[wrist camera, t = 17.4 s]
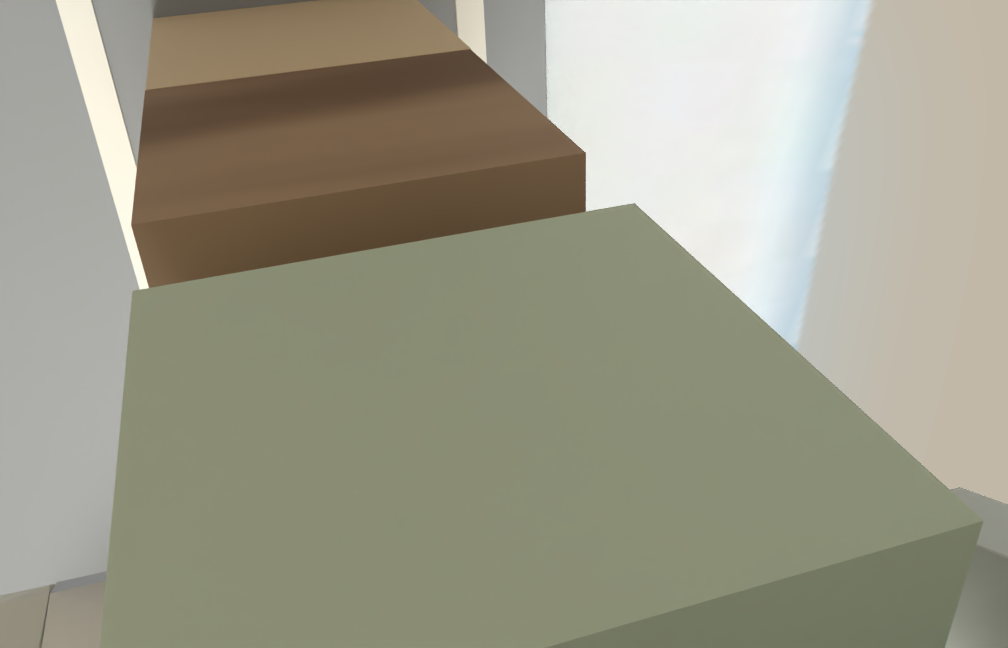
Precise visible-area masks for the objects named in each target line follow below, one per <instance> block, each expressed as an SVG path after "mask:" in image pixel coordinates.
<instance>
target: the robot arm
mask: <svg viewBox="0 0 1008 648" xmlns="http://www.w3.org/2000/svg"><path fill="white" fill-rule="evenodd" d="M950 491H951V492H953V493H954V494H955V495H956V496H957V497H958V498H959V499H960V500H961V501H962V502H964V503H965V504H966V505H967V506H968V507H969V508H970V509H971V510H972V511H973V512H975V513H976V514H977V515H978V516H979V517H980V518H981V519H982V520H983V525H982V528H981V531H980V534H979V538H978V541H977V544H976V547H975V551H974V554H973V557H972V560H971V564H970V567H969V570H968V574H967V577H966V580H965V583H964V587H963V590H962V593H961V596H960V600H959V603H958V606H957V609H956V613H955V616H954V619H953V622H952V626H951V629H950V632H949V635H948V639H947V642H946V645H945V648H1008V504H1005V503H1002V502H999V501H996V500H994V499H991V498H988V497H985V496H982V495H980V494H977V493H974V492H971V491H968V490H966V489H963V488H960V487H959V488H955V489H951V490H950ZM106 576H107V571H105V572H101V573H96V574H91V575H87V576H82V577H78V578H73V579H68V580H64V581H59V582H57V583H56V584H52V585H47V586H42V587H37V588H33V589H28V590H24V591H19V592H14V593H10V594H5V595H0V648H100V643H101V632H102V621H103V609H104V598H105V587H106Z"/></svg>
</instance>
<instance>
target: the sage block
mask: <svg viewBox="0 0 1008 648" xmlns="http://www.w3.org/2000/svg"><path fill="white" fill-rule="evenodd" d="M982 525H983V520H982V519H981V518H980V517H979V516H978V515H977V514H976V513H975V512H973V511H972V510H971V509H970V508H969V507H968V506H967V505H966V504H965V503H964V502H962V501H961V500H960V499H959V498H958V497H957V496H956V495H955V494H954V493H953V492H951V491H950V490H949V489H948V488H947V487H946V486H945V485H944V484H943V483H942V482H940V481H939V480H938V479H937V478H936V477H935V476H934V475H933V474H932V473H931V472H929V471H928V470H927V469H926V468H925V467H924V466H923V465H922V464H921V463H920V462H918V461H917V460H916V459H915V458H914V457H913V456H912V455H911V454H910V453H909V452H907V451H906V450H905V449H904V448H903V447H902V446H901V445H900V444H899V443H897V442H896V441H895V440H894V439H893V438H892V437H891V436H890V435H889V434H888V433H886V432H885V431H884V430H883V429H882V428H881V427H880V426H879V425H878V424H877V423H876V422H874V421H873V420H872V419H871V418H870V417H869V416H868V415H867V414H866V413H864V412H863V411H862V410H861V409H860V408H859V407H858V406H857V405H856V404H855V403H853V402H852V401H851V400H850V399H849V398H848V397H847V396H846V395H845V394H844V393H842V392H841V391H840V390H839V389H838V388H837V387H836V386H835V385H834V384H833V383H832V382H830V381H829V380H828V379H827V378H826V377H825V376H824V375H823V374H822V373H821V372H819V371H818V370H817V369H816V368H815V367H814V366H813V365H812V364H811V363H809V362H808V361H807V360H806V359H805V358H804V357H803V356H802V355H801V354H800V353H799V352H797V351H796V350H795V349H794V348H793V347H792V346H791V345H790V344H789V343H788V342H786V341H785V340H784V339H783V338H782V337H781V336H780V335H779V334H778V333H777V332H775V331H774V330H773V329H772V328H771V327H770V326H769V325H768V324H767V323H766V322H764V321H763V320H762V319H761V318H760V317H759V316H758V315H757V314H756V313H755V312H753V311H752V310H751V309H750V308H749V307H748V306H747V305H746V304H745V303H743V302H742V301H741V300H740V299H739V298H738V297H737V296H736V295H735V294H734V293H732V292H731V291H730V290H729V289H728V288H727V287H726V286H725V285H724V284H723V283H721V282H720V281H719V280H718V279H717V278H716V277H715V276H714V275H713V274H712V273H710V272H709V271H708V270H707V269H706V268H705V267H704V266H703V265H702V264H701V263H699V262H698V261H697V260H696V259H695V258H694V257H693V256H692V255H691V254H690V253H688V252H687V251H686V250H685V249H684V248H683V247H682V246H681V245H680V244H679V243H677V242H676V241H675V240H674V239H673V238H672V237H671V236H670V235H669V234H668V233H666V232H665V231H664V230H663V229H662V228H661V227H660V226H659V225H658V224H657V223H655V222H654V221H653V220H652V219H651V218H650V217H649V216H648V215H647V214H646V213H644V212H643V211H642V210H641V209H640V208H639V207H638V206H637V205H636V204H635V203H633V204H627V205H622V206H616V207H610V208H605V209H599V210H593V211H587V212H582V213H576V214H570V215H564V216H559V217H553V218H547V219H541V220H536V221H530V222H524V223H519V224H513V225H507V226H501V227H496V228H490V229H484V230H478V231H473V232H467V233H461V234H456V235H450V236H444V237H438V238H433V239H427V240H421V241H415V242H410V243H404V244H398V245H393V246H387V247H381V248H375V249H370V250H364V251H358V252H352V253H347V254H341V255H335V256H329V257H324V258H318V259H312V260H307V261H301V262H295V263H289V264H284V265H278V266H272V267H266V268H261V269H255V270H249V271H244V272H238V273H232V274H226V275H221V276H215V277H209V278H203V279H198V280H192V281H186V282H181V283H175V284H169V285H163V286H158V287H152V288H146V289H140V290H135V291H132V301H131V312H130V323H129V334H128V345H127V356H126V367H125V378H124V389H123V400H122V411H121V422H120V433H119V444H118V455H117V466H116V477H115V488H114V499H113V510H112V521H111V532H110V543H109V554H108V565H107V576H106V587H105V598H104V609H103V621H102V632H101V643H100V648H945V645H946V642H947V639H948V635H949V632H950V629H951V626H952V622H953V619H954V616H955V613H956V609H957V606H958V603H959V600H960V596H961V593H962V590H963V587H964V583H965V580H966V577H967V574H968V570H969V567H970V564H971V560H972V557H973V554H974V551H975V547H976V544H977V541H978V538H979V534H980V531H981V528H982Z"/></svg>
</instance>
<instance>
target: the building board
mask: <svg viewBox="0 0 1008 648" xmlns="http://www.w3.org/2000/svg"><path fill="white" fill-rule="evenodd" d="M469 49H471V50H472V51H473V52H474V53H475V54H476V55H477V56H479V57H480V58H481V59H482V60H483V61H484V62H485V63H486V64H487V65H489V66H490V67H491V68H492V69H493V70H494V71H495V72H496V73H497V74H499V75H500V76H501V77H502V78H503V79H504V80H505V81H506V82H507V83H509V84H510V85H511V86H512V87H513V88H514V89H515V90H516V91H517V92H519V93H520V94H521V95H522V96H523V97H524V98H525V99H526V100H527V101H529V102H530V103H531V104H532V105H533V106H534V107H535V108H536V109H537V110H539V111H540V112H541V113H542V114H543V115H544V116H545V117H546V118H547V88H546V40H545V0H0V595H5V594H10V593H14V592H19V591H24V590H28V589H33V588H37V587H42V586H47V585H52V584H56V583H57V582H59V581H64V580H68V579H73V578H78V577H82V576H87V575H91V574H96V573H101V572H105V571H107V565H108V554H109V543H110V532H111V521H112V510H113V499H114V488H115V477H116V466H117V455H118V444H119V433H120V422H121V411H122V400H123V389H124V378H125V367H126V356H127V345H128V334H129V323H130V312H131V301H132V291H135V290H140V289H146V288H149V286H148V283H147V279H146V276H145V272H144V269H143V265H142V262H141V258H140V255H139V251H138V248H137V244H136V241H135V237H134V234H133V230H132V227H131V220H132V210H133V201H134V191H135V181H136V172H137V162H138V152H139V143H140V133H141V124H142V114H143V104H144V95H145V90H152V89H160V88H168V87H176V86H184V85H192V84H200V83H208V82H216V81H223V80H231V79H239V78H247V77H255V76H263V75H271V74H279V73H287V72H295V71H303V70H310V69H318V68H326V67H334V66H342V65H350V64H358V63H366V62H374V61H382V60H390V59H398V58H405V57H413V56H421V55H429V54H437V53H445V52H453V51H461V50H469Z"/></svg>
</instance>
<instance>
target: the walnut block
mask: <svg viewBox="0 0 1008 648" xmlns="http://www.w3.org/2000/svg"><path fill="white" fill-rule="evenodd" d="M582 212H586V153H585V152H584V151H583V150H582V149H581V148H580V147H579V146H577V145H576V144H575V143H574V142H573V141H572V140H571V139H570V138H569V137H567V136H566V135H565V134H564V133H563V132H562V131H561V130H560V129H559V128H557V127H556V126H555V125H554V124H553V123H552V122H551V121H550V120H549V119H547V118H546V117H545V116H544V115H543V114H542V113H541V112H540V111H539V110H537V109H536V108H535V107H534V106H533V105H532V104H531V103H530V102H529V101H527V100H526V99H525V98H524V97H523V96H522V95H521V94H520V93H519V92H517V91H516V90H515V89H514V88H513V87H512V86H511V85H510V84H509V83H507V82H506V81H505V80H504V79H503V78H502V77H501V76H500V75H499V74H497V73H496V72H495V71H494V70H493V69H492V68H491V67H490V66H489V65H487V64H486V63H485V62H484V61H483V60H482V59H481V58H480V57H479V56H477V55H476V54H475V53H474V52H473V51H472V50H471V49H469V50H461V51H453V52H445V53H437V54H429V55H421V56H413V57H405V58H398V59H390V60H382V61H374V62H366V63H358V64H350V65H342V66H334V67H326V68H318V69H310V70H303V71H295V72H287V73H279V74H271V75H263V76H255V77H247V78H239V79H231V80H223V81H216V82H208V83H200V84H192V85H184V86H176V87H168V88H160V89H152V90H145V95H144V104H143V114H142V124H141V133H140V143H139V152H138V162H137V172H136V181H135V191H134V201H133V210H132V220H131V227H132V230H133V234H134V237H135V241H136V244H137V248H138V251H139V255H140V258H141V262H142V265H143V269H144V272H145V276H146V279H147V283H148V286H149V288H152V287H158V286H163V285H169V284H175V283H181V282H186V281H192V280H198V279H203V278H209V277H215V276H221V275H226V274H232V273H238V272H244V271H249V270H255V269H261V268H266V267H272V266H278V265H284V264H289V263H295V262H301V261H307V260H312V259H318V258H324V257H329V256H335V255H341V254H347V253H352V252H358V251H364V250H370V249H375V248H381V247H387V246H393V245H398V244H404V243H410V242H415V241H421V240H427V239H433V238H438V237H444V236H450V235H456V234H461V233H467V232H473V231H478V230H484V229H490V228H496V227H501V226H507V225H513V224H519V223H524V222H530V221H536V220H541V219H547V218H553V217H559V216H564V215H570V214H576V213H582Z"/></svg>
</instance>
